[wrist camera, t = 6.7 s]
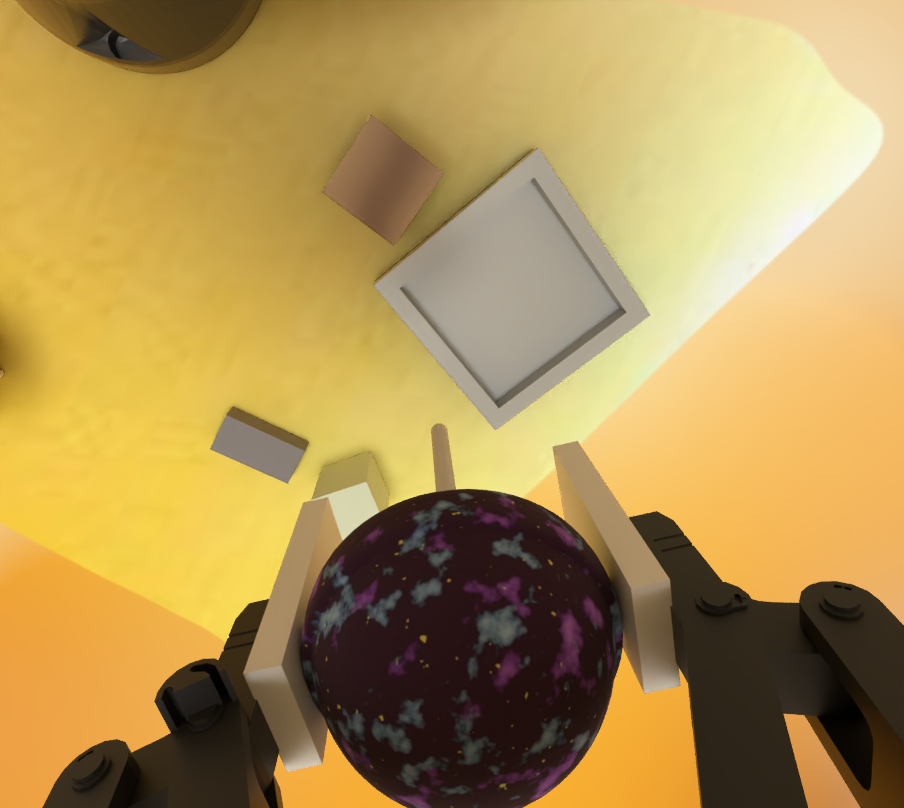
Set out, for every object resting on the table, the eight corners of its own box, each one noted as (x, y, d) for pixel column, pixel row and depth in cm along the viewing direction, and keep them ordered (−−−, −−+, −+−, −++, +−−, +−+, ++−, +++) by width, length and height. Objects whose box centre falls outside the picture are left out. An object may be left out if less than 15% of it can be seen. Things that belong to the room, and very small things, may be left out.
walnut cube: (333, 191, 38) (321, 192, 33) (376, 123, 36) (371, 114, 32) (396, 238, 39) (394, 245, 34) (439, 174, 38) (444, 173, 33)
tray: (375, 280, 40) (373, 285, 38) (532, 149, 37) (538, 147, 35) (491, 419, 44) (495, 430, 42) (639, 309, 42) (650, 315, 40)
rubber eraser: (218, 437, 43) (210, 449, 41) (234, 405, 43) (226, 414, 41) (292, 471, 45) (287, 483, 43) (309, 439, 44) (304, 451, 42)
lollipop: (449, 532, 25) (497, 955, 11) (320, 443, 23) (184, 816, 9) (555, 418, 24) (765, 743, 10) (426, 314, 22) (453, 527, 8)
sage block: (322, 466, 44) (311, 499, 40) (370, 450, 44) (366, 481, 40) (341, 509, 46) (334, 545, 41) (389, 493, 46) (386, 528, 41)
